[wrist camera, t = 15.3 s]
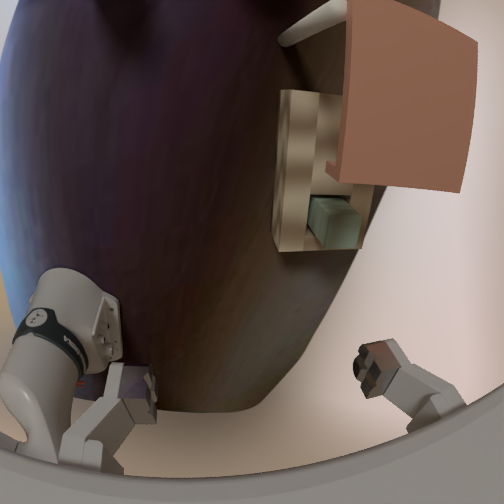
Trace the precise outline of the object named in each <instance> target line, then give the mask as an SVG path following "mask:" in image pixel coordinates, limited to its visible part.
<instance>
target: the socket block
mask: <svg viewBox="0 0 504 504" xmlns="http://www.w3.org/2000/svg"><path fill="white" fill-rule="evenodd" d="M342 99H343V96H338V95H332V94H324V93H317V92H308V91H299V90H279V100H278V118H277V135H276V151H275V167H274V182H273V197H272V211H271V225H270V232H271V234H272V237H273V239H274V241H275V244H276V246H277V248H278V251H279V252H290V251H316V250H343V249H361V248H362V245H363V241H364V236H365V232H366V227H367V222H368V218H369V213H370V208H371V203H372V197H373V192H374V187H375V185H371V184H355V183H339V182H337V181H336V180H335V179H334V178H332V177H331V176H330V175H328V174H327V173H326V172H325V168H326V161H336V158H337V150H338V141H339V131H340V121H341V111H342ZM310 194H321V195H339V196H340V197H341V198H343V199H344V200H345V201H346V202H347V203H348V204H349V205H350V206H352V207H353V208H354V209H355V210H356V211H357V212H358V213H359V214H360V215H361V216H362V221H361V226H360V231H359V236H358V240H357V245H356V248H338V249H325V248H324V247H323V246H322V244H321V243H320V241H319V240H318V238H317V237H316V235H315V234H314V232H313V231H312V230H311V228H310V227H309V225H308V224H307V216H308V208H309V199H310Z"/></svg>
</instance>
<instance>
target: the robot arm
mask: <svg viewBox="0 0 504 504" xmlns="http://www.w3.org/2000/svg"><path fill="white" fill-rule="evenodd" d="M29 303H30V305H29V307H28V310H27V312H26V314H25V317H24V319H23V321H22V322H21V324H20V326H19V327H18V329H17V331H16V332H15V335H14V338H13V342H12V344H13V346H12V348H11V350H10V352H9V354H8V356H7V358H6V361H5V363H4V365H3V367H2V369H1V372H0V397H1V399H2V401H3V403H4V405H5V406H6V408H7V409H8V410H9V412H10V413H11V414H12V415H13V416H14V418H15V419H16V420H17V421H18V422H19V424H20V425H21V426H22V428H23V429H24V431H25V433H26V435H27V441H26V442H21V441H17V440H15V439H13V438H11V437H9V436H7V435H6V434H4V433H2V432H0V504H504V383H503V384H502V385H501V386H499V387H497V388H496V389H494V390H493V391H491V392H489V393H488V394H486V395H485V396H483V397H482V398H479V399H478V400H476V401H474V402H472V403H471V404H469V405H466V403H465V402H464V400H463V399H462V397H461V396H460V394H459V393H458V391H457V390H456V388H455V387H454V386H453V385H452V384H450V383H448V382H446V381H444V380H443V379H441V378H439V377H437V376H435V375H434V374H432V373H430V372H428V371H426V370H424V369H423V368H421V367H419V366H417V365H415V364H411V363H410V361H409V360H408V358H407V357H406V355H405V354H404V352H403V351H402V349H401V348H400V346H399V345H398V343H397V342H396V341H395V340H394V339H387V340H383V341H377V342H372V343H367V344H362V345H361V346H360V347H359V350H358V352H359V355H358V356H357V357H356V358H355V360H354V362H353V371H354V375H355V377H356V379H357V380H359V381H360V382H362V383H361V389H362V391H363V393H364V395H365V397H366V399H369V398H372V397H377V396H380V395H383V396H384V397H386V398H387V399H388V400H389V401H390V402H392V403H393V404H394V405H396V406H397V407H398V408H399V409H401V410H402V411H403V412H405V413H406V414H407V415H409V416H410V417H411V418H413V419H412V421H411V422H410V423H409V424H408V425H407V428H406V429H407V431H408V434H406V435H404V436H401V437H399V438H396V439H393V440H391V441H388V442H385V443H382V444H379V445H377V446H373V447H370V448H367V449H364V450H361V451H358V452H355V453H351V454H348V455H344V456H341V457H337V458H333V459H329V460H325V461H321V462H317V463H313V464H308V465H303V466H298V467H293V468H288V469H282V470H276V471H269V472H262V473H254V474H246V475H236V476H223V477H206V478H160V477H141V476H129V475H124V468H123V467H122V466H121V465H120V464H119V463H118V462H117V460H116V459H115V458H114V457H113V455H114V454H115V452H116V451H117V450H118V448H119V447H120V445H121V444H122V443H123V441H124V440H125V439H126V437H127V436H128V434H129V433H130V432H131V430H132V429H133V427H134V426H135V424H156V418H157V409H156V406H155V402H156V401H157V396H158V392H157V383H156V379H155V377H154V376H153V368H152V365H151V364H138V363H116V362H112V363H111V365H110V367H109V372H108V377H107V382H106V387H105V392H104V397H100V398H99V399H98V400H97V401H96V402H95V403H94V404H93V405H92V406H91V407H90V408H89V409H88V410H87V411H86V412H85V413H84V414H83V415H82V416H81V417H80V418H79V419H78V420H77V421H76V422H75V423H74V424H73V425H72V426H71V408H72V402H73V396H74V392H75V387H84V386H82V385H77V384H83V383H85V382H84V381H79V380H80V379H81V377H82V376H83V375H84V374H93V373H99V372H102V371H104V370H105V369H106V368H107V366H108V362H111V361H115V360H118V359H120V358H121V357H122V355H123V347H122V336H121V323H120V307H119V301H118V299H117V298H115V297H114V296H112V295H110V294H108V293H106V292H104V291H102V290H101V289H100V288H99V287H98V286H97V285H96V284H95V283H94V282H93V281H91V280H90V279H89V278H87V277H86V276H84V275H83V274H81V273H79V272H77V271H74V270H71V269H66V268H54V269H50V270H48V271H46V272H45V273H44V274H43V275H42V276H41V277H40V279H39V281H38V284H37V288H36V291H35V292H34V293H33V294H32V296H31V298H30V300H29ZM111 308H113V309H111Z"/></svg>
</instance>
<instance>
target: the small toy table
mask: <svg viewBox="0 0 504 504" xmlns="http://www.w3.org/2000/svg"><path fill="white" fill-rule="evenodd" d="M345 20H347V22H346V51H345V70H344V86H343V99H342V111H341V121H340V131H339V141H338V150H337V158H336V161H326V168H325V172H326V173H327V174H328V175H330V176H331V177H332V178H334V179H335V180H336V181H337V182H339V183H355V184H371V185H384V186H397V187H408V188H418V189H428V190H437V191H445V192H453V193H460V189H461V185H462V180H463V176H464V171H465V167H466V162H467V156H468V151H469V145H470V139H471V132H472V125H473V118H474V108H475V98H476V84H477V61H478V58H477V57H478V55H477V53H478V46H477V45H478V43H477V42H476V41H475V40H473V39H472V38H470V37H468V36H467V35H465V34H463V33H461V32H459V31H458V30H456V29H454V28H452V27H450V26H449V25H447V24H445V23H443V22H441V21H439V20H437V19H435V18H433V17H431V16H429V15H427V14H424V13H422V12H420V11H418V10H416V9H413V8H411V7H408V6H406V5H404V4H401V3H399V2H396V1H393V0H347V1H345V0H331V1H329V2H327V3H326V4H324V5H323V6H321V7H319V8H318V9H316V10H315V11H313V12H312V13H310V14H309V15H307V16H306V17H304V18H303V19H301V20H300V21H298V22H297V23H296V24H294V25H293V26H291V27H290V28H289V29H287V30H286V31H284V32H283V33H282V34H280V35H279V36H278V43H279V44H280V45H281V46H283V47H289V46H291V45H293V44H295V43H297V42H299V41H301V40H303V39H305V38H307V37H309V36H311V35H314V34H316V33H318V32H320V31H322V30H324V29H327V28H329V27H331V26H334V25H336V24H338V23H341V22H343V21H345Z"/></svg>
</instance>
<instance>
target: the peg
mask: <svg viewBox="0 0 504 504" xmlns="http://www.w3.org/2000/svg"><path fill="white" fill-rule="evenodd" d="M361 221H362V216H361V215H360V214H359V213H358V212H357V211H356V210H355V209H354V208H353V207H352V206H350V205H349V204H348V203H347V202H346V201H345V200H344V199H343V198H341V197H340V196H339V195H321V194H310V199H309V208H308V216H307V224H308V225H309V227H310V228H311V230H312V231H313V232H314V234H315V235H316V237H317V238H318V240H319V241H320V243H321V244H322V246H323V247H324V248H325V249H338V248H356V245H357V240H358V236H359V231H360V226H361Z"/></svg>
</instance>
